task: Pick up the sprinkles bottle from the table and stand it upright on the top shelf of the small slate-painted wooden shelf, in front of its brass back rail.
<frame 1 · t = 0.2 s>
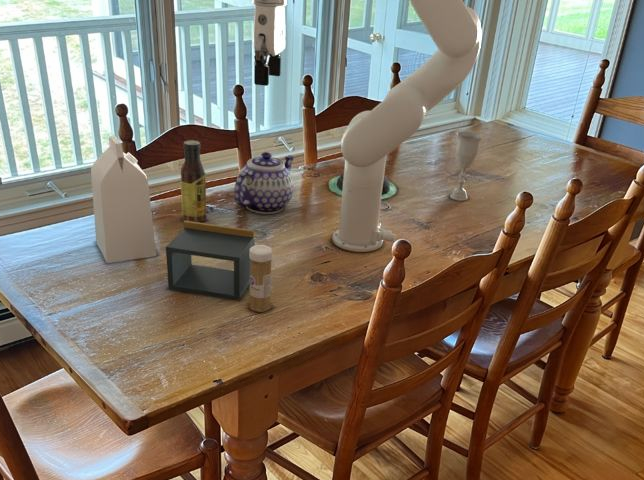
hand: (267, 80, 164), 37 cm above the table, tool pointing down, fingers open, 9 cm apart
sprinkles bottle: (260, 308, 151), on the table
chalice: (458, 197, 209), on the table
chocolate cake: (362, 188, 212), on the table
sauce bottle: (194, 219, 188), on the table
milk: (126, 249, 171), on the table
shelf: (212, 283, 159), on the table
teapot: (264, 207, 197), on the table
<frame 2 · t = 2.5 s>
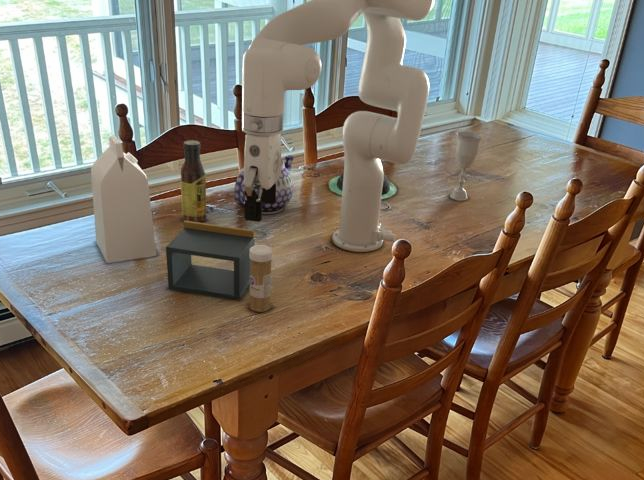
hand: (260, 211, 141), 21 cm above the table, tool pointing down, fingers open, 9 cm apart
nothing on the table moved.
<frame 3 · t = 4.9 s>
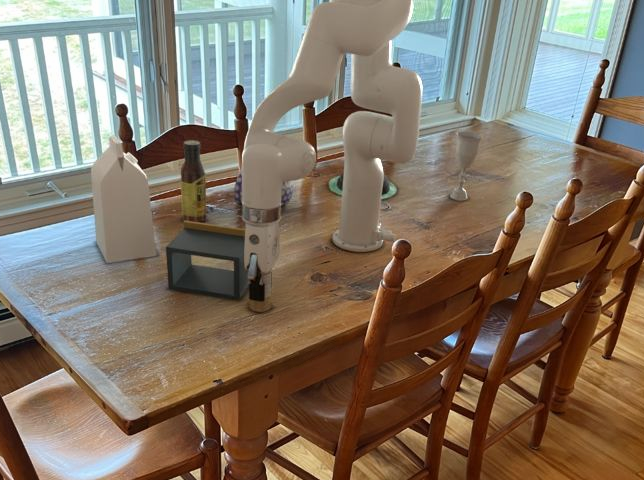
hand: (260, 293, 149), 3 cm above the table, tool pointing down, fingers closed on sprinkles bottle, 4 cm apart
sprinkles bottle: (260, 308, 151), on the table, touching gripper
everything else where it was.
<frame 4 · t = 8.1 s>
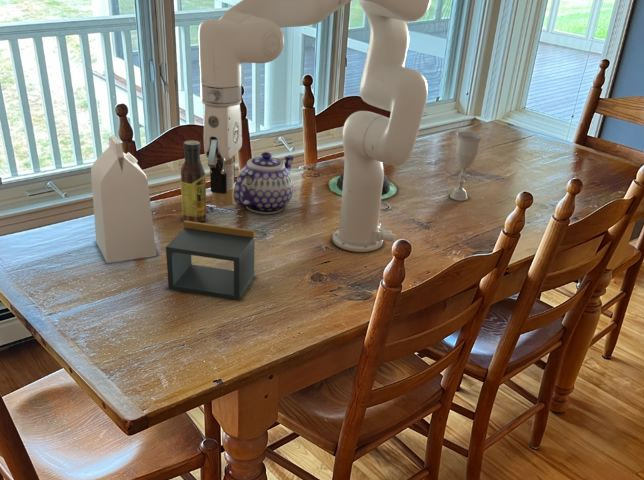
hand: (223, 187, 144), 23 cm above the table, tool pointing down, fingers closed on sprinkles bottle, 4 cm apart
sprinkles bottle: (223, 203, 146), point 20 cm above the table, touching gripper
everything else where it was.
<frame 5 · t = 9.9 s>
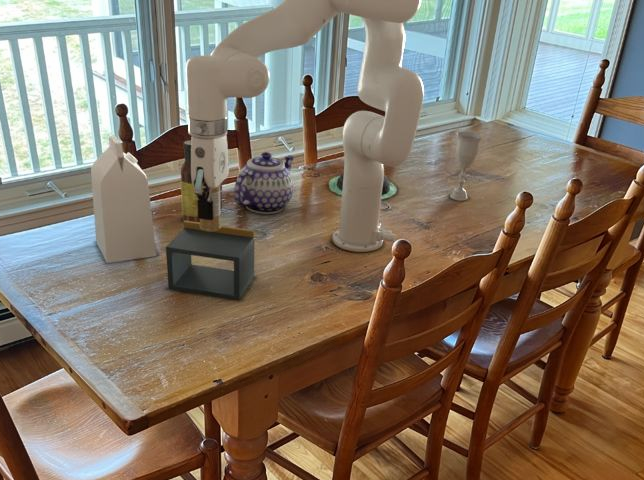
hand: (210, 213, 150), 16 cm above the table, tool pointing down, fingers closed on sprinkles bottle, 4 cm apart
sprinkles bottle: (210, 229, 152), point 13 cm above the table, touching gripper
everything else where it was.
when the fingers open (13 cm above the table, at t = 11.1 s): sprinkles bottle stays where it is, resting on shelf.
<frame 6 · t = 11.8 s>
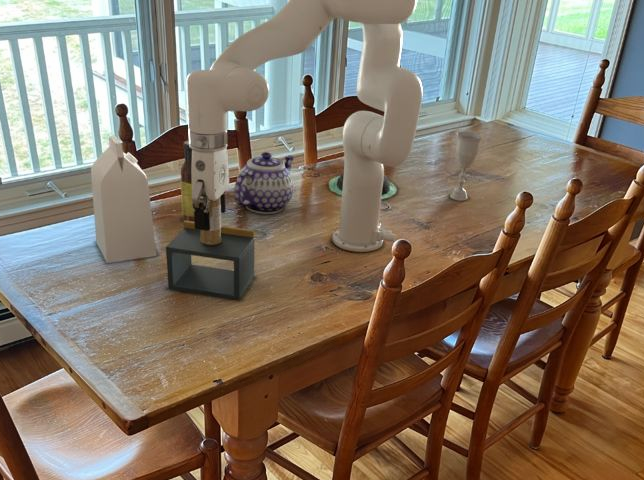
hand: (210, 220, 151), 15 cm above the table, tool pointing down, fingers open, 9 cm apart
sprinkles bottle: (211, 242, 154), point 10 cm above the table, touching shelf
everything else where it was.
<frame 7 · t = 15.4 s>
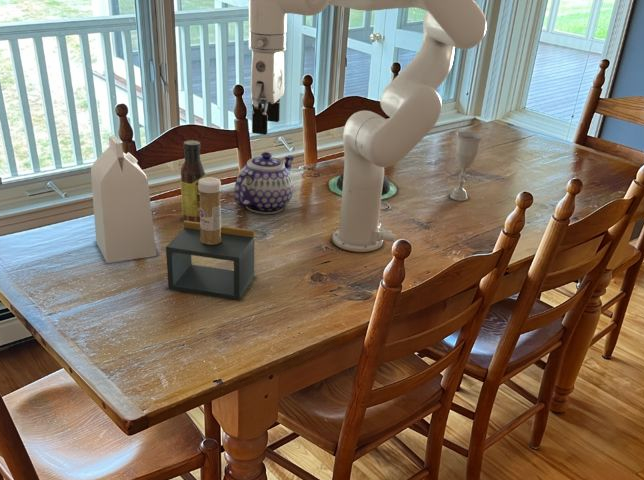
hand: (266, 127, 155), 30 cm above the table, tool pointing down, fingers open, 9 cm apart
nothing on the table moved.
at the end: sprinkles bottle inside the target area on the shelf (0.1 cm from its centre), point 9.8 cm above the shelf's base; sprinkles bottle tilted 0°; the gripper is holding nothing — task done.
